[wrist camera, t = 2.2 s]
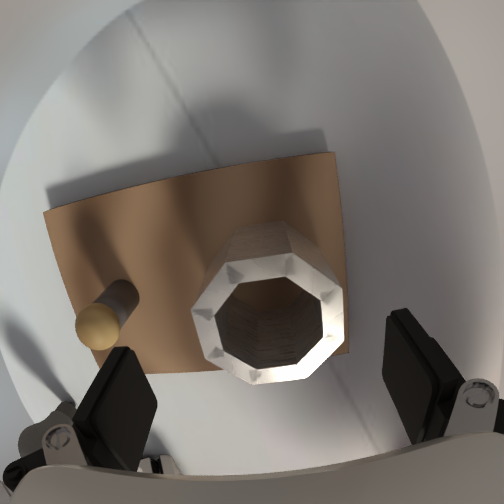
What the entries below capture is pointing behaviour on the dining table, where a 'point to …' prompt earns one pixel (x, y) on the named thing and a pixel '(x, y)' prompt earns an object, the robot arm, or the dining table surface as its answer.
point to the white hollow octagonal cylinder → (272, 321)
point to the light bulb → (44, 428)
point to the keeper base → (186, 252)
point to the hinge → (164, 465)
